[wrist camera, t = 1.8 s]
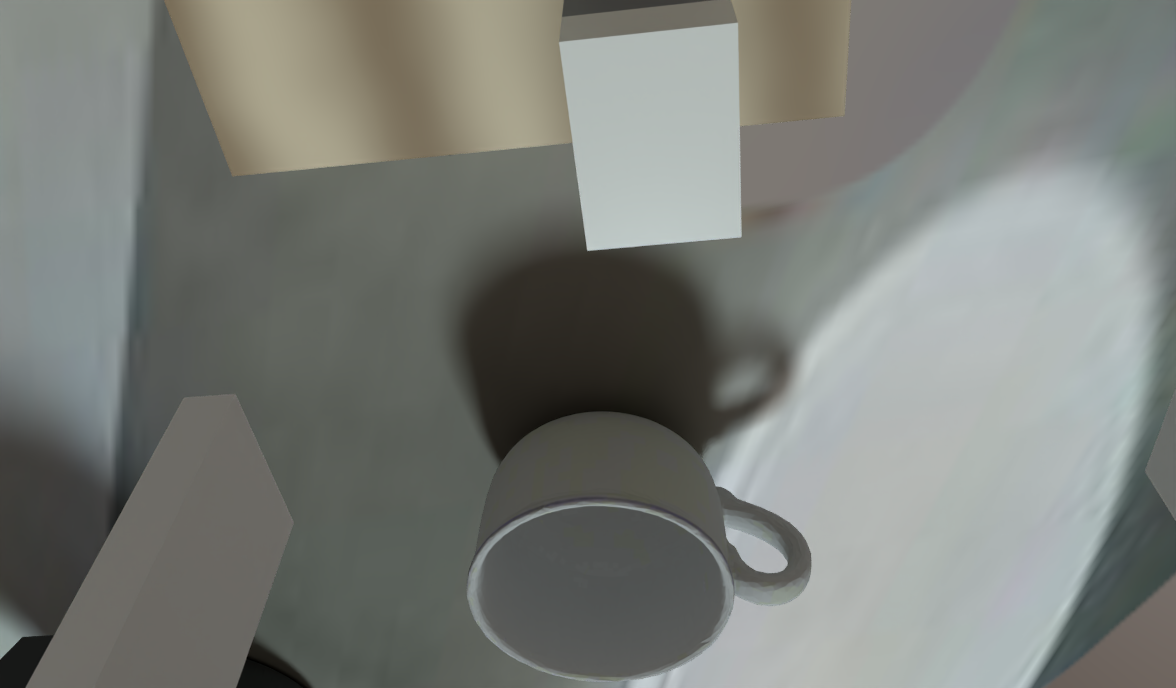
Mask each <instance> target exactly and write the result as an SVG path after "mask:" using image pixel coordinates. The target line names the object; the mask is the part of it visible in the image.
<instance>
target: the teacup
mask: <svg viewBox="0 0 1176 688" xmlns="http://www.w3.org/2000/svg"><path fill="white" fill-rule="evenodd" d="M725 527H729V528H732V529H736V530H739V531H742V532H745V533H748V534H750V535H753V536H755V537H757V538H759V539H761V540H763V541H765V542H767V543H768V544H770V545H772V546H773V547H775V548H776V549H777V550H779V551H780V552H781V553H782V554H783V556H784V557H785V559H786V560H787V562H788V566H787V567H786V568H785V570H783V571H781V572H778V573H763V572H758V571H755V570H754V569H752V568H750V567H749V566H747V565H746V564H745V562H744V561H743V560H742V559H741V558H740V556H739V554H738V552H737V550H736V548H735V547H734V546H733V545H732V544H730V543H729V542H728V540H727V538H726V533H725ZM810 574H811V553H810V550H809V547H808V545H807V542H806V540H805V539H804V537H803V536H802V534H801V533H800V532H799V531H798V530H797V529H796V528H795V527H794V526H793V525H792V524H791V523H789V522H788V521H786V520H784V519H783V518H781V517H780V516H778V515H776V514H774V513H772V512H770V511H768V510H765V509H763V508H761V507H758V506H756V505H753V504H750V503H747V502H745V501H742V500H739V499H737V498H736V497H735V496H734V495H733V494H732V493H731V492H729V491H728V490H726V489H724V488H722V487H716V486H715V484H714V481H713V479H712V476H711V474H710V472H709V470H708V468H707V466H706V465H705V463H704V461H703V460H702V458H701V457H700V456H699V454H698V453H697V452H696V451H695V449H694V448H693V447H692V446H691V445H690V444H689V443H688V442H686V441H685V440H684V439H683V438H681V437H680V436H679V435H678V434H676V433H674V432H673V431H671V430H670V429H668V428H666V427H664V426H662V425H660V424H658V423H656V422H654V421H651V420H649V419H646V418H643V417H639V416H636V415H631V414H626V413H620V412H607V411H597V412H585V413H578V414H573V415H569V416H565V417H561V418H559V419H556V420H553V421H551V422H548V423H546V424H544V425H542V426H540V427H539V428H537V429H535V430H534V431H532V432H530V433H529V434H527V435H526V436H525V437H524V438H522V439H521V440H520V441H519V442H518V443H517V444H516V445H515V446H514V447H513V448H512V449H511V450H510V451H509V452H508V454H507V455H506V457H505V458H504V459H503V461H502V462H501V464H500V465H499V467H498V469H497V471H496V473H495V475H494V477H493V479H492V482H491V485H490V488H489V491H488V494H487V498H486V502H485V506H484V510H483V514H482V519H481V524H480V529H479V534H478V540H477V546H476V552H475V555H474V558H473V561H472V563H471V566H470V568H469V573H468V579H467V599H468V602H469V606H470V609H471V612H472V614H473V617H474V619H475V621H476V623H477V624H478V625H479V627H480V628H481V630H482V631H483V632H484V634H485V635H486V637H487V638H488V639H490V640H491V641H492V642H493V643H494V644H495V645H496V646H497V647H499V648H500V649H501V650H502V651H504V652H505V653H507V654H508V655H509V656H511V657H513V658H515V659H516V660H518V661H520V662H522V663H525V664H527V665H529V666H531V667H533V668H535V669H537V670H539V671H543V672H546V673H549V674H552V675H556V676H561V677H564V678H569V679H574V680H584V681H590V682H619V681H624V680H636V679H643V678H647V677H651V676H656V675H659V674H662V673H665V672H668V671H671V670H673V669H675V668H677V667H680V666H682V665H684V664H686V663H688V662H689V661H691V660H693V659H694V658H696V657H697V656H699V655H701V654H702V652H703V651H705V650H706V649H707V648H709V647H710V646H711V645H712V644H713V643H714V641H715V640H716V639H717V638H718V636H719V635H720V634H721V632H722V630H723V629H724V627H725V625H726V623H727V621H728V619H729V616H730V614H731V611H732V609H733V603H734V595H736V596H737V597H739V598H741V599H743V600H746V601H749V602H752V603H754V604H757V605H766V606H776V605H782V604H785V603H787V602H790V601H792V600H794V599H795V598H797V597H798V596H799V595H800V594H801V593H802V591H803V590H804V589H805V587H806V585H807V583H808V581H809V578H810Z"/></svg>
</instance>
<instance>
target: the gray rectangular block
mask: <svg viewBox="0 0 1176 688" xmlns="http://www.w3.org/2000/svg"><path fill="white" fill-rule="evenodd" d="M559 46H560V54H561V61H562V68H563V76H564V83H565V90H566V98H567V105H568V112H569V120H570V127H571V135H572V142H573V149H574V157H575V164H576V171H577V179H578V186H579V193H580V201H581V208H582V215H583V223H584V230H585V238H586V245H587V251H591V250H602V249H613V248H625V247H636V246H647V245H659V244H670V243H681V242H692V241H704V240H715V239H726V238H738V237H741V184H740V183H741V182H740V116H739V52H738V21H737V18H736V15H735V12H734V9H733V5H732V2H731V0H564V3H563V11H562V20H561V29H560V37H559Z"/></svg>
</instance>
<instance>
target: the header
mask: <svg viewBox="0 0 1176 688" xmlns="http://www.w3.org/2000/svg"><path fill="white" fill-rule="evenodd" d="M164 1H165V4H166V6H167V9H168V12H169V14H170V17H171V19H172V22H173V24H174V27H175V30H176V32H177V35H178V37H179V40H180V42H181V45H182V48H183V50H184V53H185V55H186V58H187V60H188V63H189V66H190V68H191V71H192V73H193V76H194V78H195V81H196V84H197V86H198V89H199V91H200V94H201V96H202V99H203V102H204V104H205V107H206V109H207V112H208V114H209V117H210V120H211V122H212V125H213V127H214V130H215V132H216V135H217V137H218V140H219V143H220V145H221V148H222V150H223V153H224V155H225V158H226V161H227V163H228V166H229V168H230V171H231V173H232V176H241V175H251V174H261V173H271V172H282V171H292V170H302V169H312V168H322V167H332V166H342V165H353V164H363V163H373V162H383V161H393V160H403V159H413V158H424V157H434V156H444V155H454V154H464V153H474V152H484V151H494V150H505V149H515V148H525V147H535V146H545V145H555V144H565V143H573V142H572V135H571V127H570V120H569V112H568V105H567V98H566V90H565V83H564V76H563V68H562V61H561V54H560V46H559V37H560V29H561V20H562V11H563V3H564V0H164ZM731 2H732V5H733V9H734V12H735V15H736V18H737V21H738V52H739V116H740V126H747V125H758V124H768V123H778V122H787V121H798V120H808V119H819V118H829V117H839V116H844V113H845V97H846V80H847V62H848V46H849V27H850V11H851V0H731Z"/></svg>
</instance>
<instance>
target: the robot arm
mask: <svg viewBox="0 0 1176 688" xmlns="http://www.w3.org/2000/svg"><path fill="white" fill-rule="evenodd" d="M1145 472H1146V474H1147V476H1148V477H1149V479H1150V480H1151V482H1152V484H1153V485H1154V487H1155V488H1156V490H1157V492H1158V493H1159V495H1160V496H1161V498H1162V500H1163V501H1164V503H1165V504H1166V506H1167V508H1168V509H1169V511H1170V512H1171V514H1172V516H1173V517H1174V519H1175V520H1176V389H1175V391H1174V394H1173V397H1172V400H1171V402H1170V405H1169V408H1168V410H1167V413H1166V416H1165V418H1164V421H1163V424H1162V427H1161V429H1160V432H1159V435H1158V437H1157V440H1156V443H1155V445H1154V448H1153V451H1152V454H1151V456H1150V459H1149V462H1148V464H1147V467H1146V470H1145ZM293 523H294V522H293V520H292V518H291V515H290V513H289V511H288V509H287V507H286V504H285V502H284V500H283V498H282V496H281V493H280V491H279V489H278V487H277V485H276V482H275V480H274V478H273V476H272V474H271V471H270V469H269V467H268V465H267V463H266V460H265V458H264V456H263V454H262V452H261V449H260V447H259V445H258V443H257V440H256V438H255V436H254V434H253V432H252V429H251V427H250V425H249V423H248V421H247V418H246V416H245V414H244V412H243V410H242V407H241V405H240V403H239V401H238V399H237V396H236V394H226V395H213V396H199V397H185V398H183V400H182V402H181V404H180V406H179V407H178V409H177V411H176V413H175V415H174V417H173V418H172V420H171V422H170V424H169V426H168V428H167V429H166V431H165V433H164V435H163V437H162V439H161V440H160V442H159V444H158V446H157V448H156V450H155V451H154V453H153V455H152V457H151V459H150V461H149V462H148V464H147V466H146V468H145V470H144V472H143V473H142V475H141V477H140V479H139V481H138V483H137V484H136V486H135V488H134V490H133V492H132V493H131V495H130V497H129V499H128V501H127V503H126V504H125V506H124V508H123V510H122V512H121V514H120V515H119V517H118V519H117V521H116V523H115V525H114V526H113V528H112V530H111V532H110V534H109V536H108V537H107V539H106V541H105V543H104V545H103V547H102V548H101V550H100V552H99V554H98V556H97V558H96V559H95V561H94V563H93V565H92V567H91V569H90V570H89V572H88V574H87V576H86V578H85V580H84V581H83V583H82V585H81V587H80V589H79V591H78V592H77V594H76V596H75V598H74V600H73V602H72V603H71V605H70V607H69V609H68V611H67V613H66V614H65V616H64V618H63V620H62V622H61V624H60V625H59V627H58V629H57V631H56V633H55V635H53V636H33V637H22V638H21V639H20V640H19V641H18V642H17V643H16V644H15V645H14V646H13V647H12V648H11V649H10V650H9V651H8V652H7V653H6V654H5V655H4V656H3V657H2V658H1V659H0V688H303V687H301V686H300V685H299V684H297V683H296V682H294V681H293V680H291V679H290V678H288V677H286V676H285V675H283V674H281V673H279V672H277V671H275V670H273V669H271V668H269V667H267V666H264V665H262V664H259V663H257V662H254V661H251V660H248V659H246V658H247V655H248V652H249V649H250V646H251V644H252V641H253V638H254V635H255V632H256V629H257V626H258V624H259V621H260V618H261V615H262V612H263V609H264V606H265V603H266V601H267V598H268V595H269V592H270V589H271V586H272V583H273V581H274V578H275V575H276V572H277V569H278V566H279V563H280V561H281V558H282V555H283V552H284V549H285V546H286V543H287V541H288V538H289V535H290V532H291V529H292V526H293Z"/></svg>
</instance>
